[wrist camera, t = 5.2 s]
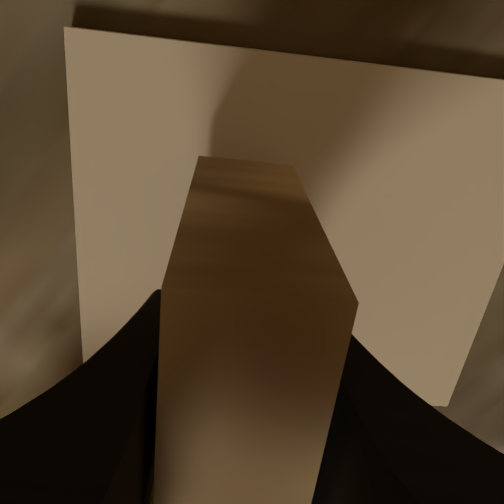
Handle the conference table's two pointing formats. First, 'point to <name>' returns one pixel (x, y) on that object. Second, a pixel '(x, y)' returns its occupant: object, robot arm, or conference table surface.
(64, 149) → the conference table surface
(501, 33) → the conference table surface
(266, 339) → the wooden block
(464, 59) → the conference table surface
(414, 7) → the conference table surface
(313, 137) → the mat
